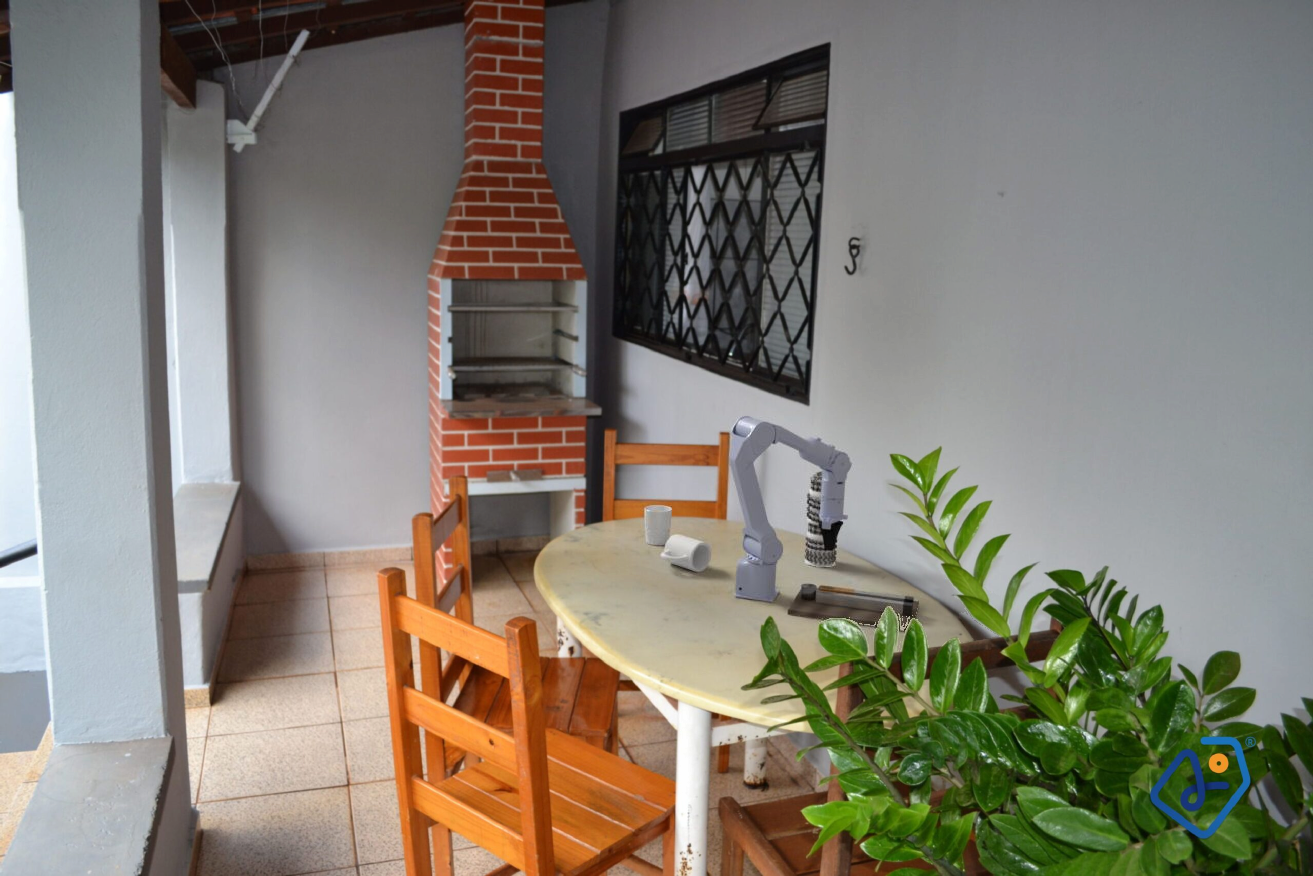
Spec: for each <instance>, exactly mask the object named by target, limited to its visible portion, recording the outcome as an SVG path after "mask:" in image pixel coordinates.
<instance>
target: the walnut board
mask: <svg viewBox="0 0 1313 876" xmlns="http://www.w3.org/2000/svg"><path fill="white" fill-rule="evenodd" d="M818 588H819V587H817V588H816V592H817V591H818ZM919 604H920V601H918V600H914V602H913V611H912V615H913V616H910V619H908V624H909V622H910V620H911V619H912V618H915V619H916V618H917V614H916V612H917V613H918V611H917V608H918V609H919V607H918V605H919ZM882 613H883V612H879V611H872V610H865V609H858V608H851V607H844V606H837V605H830V604H823V603H816V599H813V600H806V599H803V598H801V589H800V590H799V592H798V593H797V595H796V596H795V598H794V599H793V601H792V602H791V604H790V606H789V607H788V608H787V615H790V616H798V617H805V618H812V619H817V620H825V621H827V620H826V619H829V618H846V619H850V620H853V621H855V622H857V623H858V624H859V623H862V624H863V625H862V626H864V624H870V625H874V624H875V622H876V625H875V627H874V628H878V627H877V624H878V621H879V619H880V618H881V615H882ZM915 615H916V616H915ZM897 616H898V621H899V632H901V631H900V620H899V615H898V614H897ZM902 616H903V617H902ZM849 617H850V618H849ZM908 617H909V616H907V617H906V615H900V618H901V626H902V625H903V623H904V626H903V627H905V624H906V622H907V618H908ZM822 618H823V619H822ZM902 618H903V621H902ZM859 626H861V625H860V624H859ZM907 626H908V625H907ZM907 626H906V628H907ZM906 628H905V629H904V631H903V632H905V630H906Z"/></svg>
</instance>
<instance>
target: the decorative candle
mask: <svg viewBox="0 0 1313 876" xmlns="http://www.w3.org/2000/svg"><path fill="white" fill-rule="evenodd" d="M822 471H823V470H822ZM822 471H817V472H815V473H814V474H812V475H813V476H811V477H810V478H809V479H810V488H809V492H808V493H807V494H806V497H807V499H806V504H807V506H806V511H807V512H806V517H807V518H806V521H807V523H808V524H807V525H808V527H807V532H806V536H805V541H806V542H805V544H804V545H805V549H804V553H805V554H804V561H805V562H804V564H805V563H806V564H805V565H807V564H809V565H812V566H818V567H826V566H832V565H833V564H834V562H836V561H837V553H838V552H837V550H836V549H837V547H838V545H837V543H838V539H837V540H836V544H835V548H834V550H833V551H828V550H825V548H824V542H823V536H822V533H821V530H820V528H819V525H818V524H819V522H820V521H821V519H820V517H819V513H820V504H821V488H822ZM809 565H808V566H809ZM812 566H811V567H812Z"/></svg>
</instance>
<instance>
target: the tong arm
mask: <svg viewBox="0 0 1313 876" xmlns="http://www.w3.org/2000/svg"><path fill="white" fill-rule="evenodd" d="M816 588H818V590H821V591H828V592H835V593H843V594H850V595H857V596H864V597H872V598H879V599H886V600H894V601H901V602H909V603H913V602H914V601H915V597H914V596H910V595H909V596H908V595H897V594H888V593H882V592H881V593H879V592H873V591H867V590H866V591H864V590H857V589H854V588H847V587H838V586H830V585H821V584H820V585H819V586H817V585H816V584H813V583H802V584H801V585H800V590H801V598H803V599H806V600H813V599H816ZM912 611H913V608H912Z"/></svg>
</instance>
